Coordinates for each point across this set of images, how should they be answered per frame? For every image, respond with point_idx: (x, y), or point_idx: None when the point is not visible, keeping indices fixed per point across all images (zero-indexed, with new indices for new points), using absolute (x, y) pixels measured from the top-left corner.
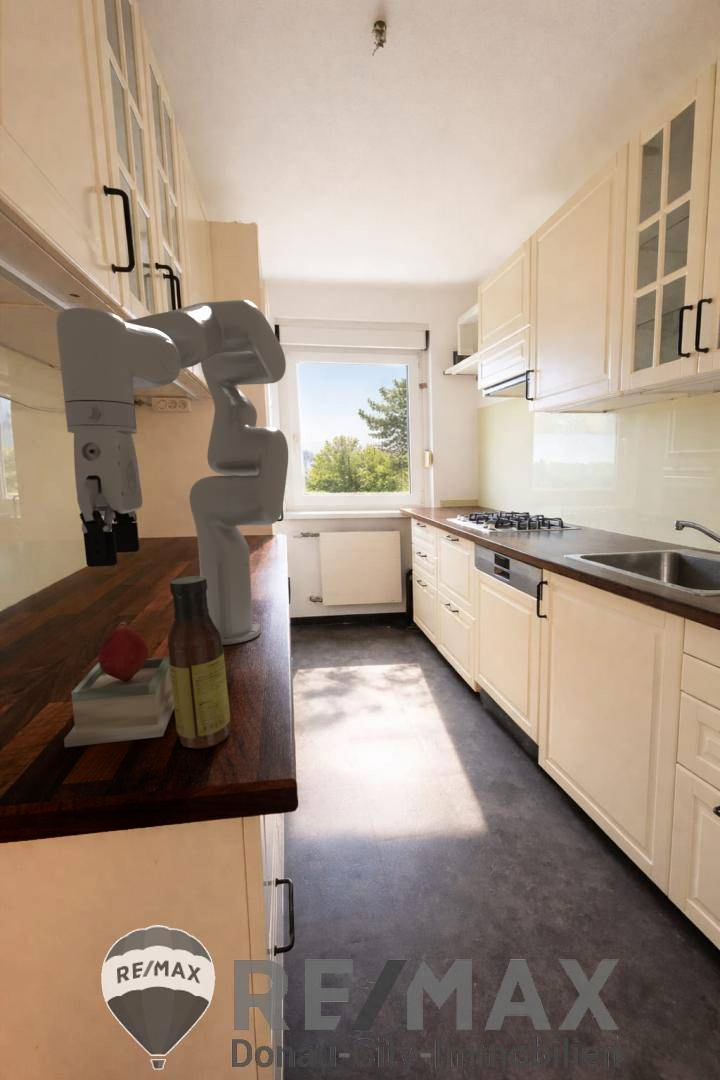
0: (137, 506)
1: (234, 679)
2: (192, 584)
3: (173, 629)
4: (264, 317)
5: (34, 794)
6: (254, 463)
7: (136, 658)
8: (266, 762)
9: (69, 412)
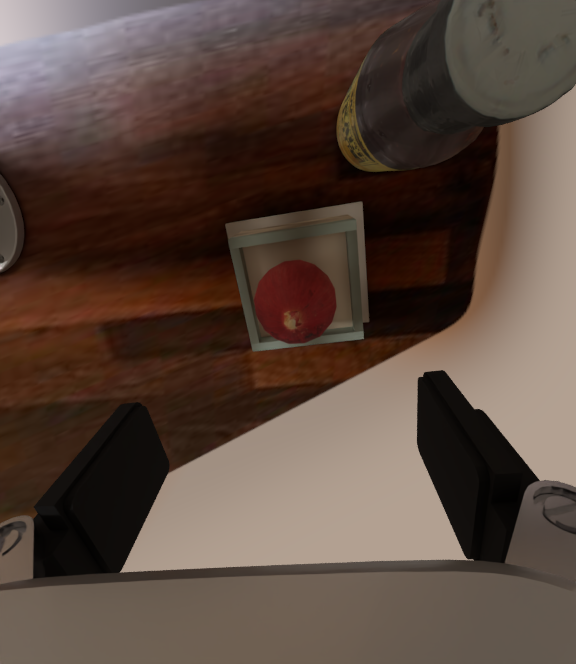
0: (106, 598)
1: (170, 134)
2: None
3: (463, 136)
4: None
5: (456, 302)
6: None
7: (320, 269)
8: None
9: None
